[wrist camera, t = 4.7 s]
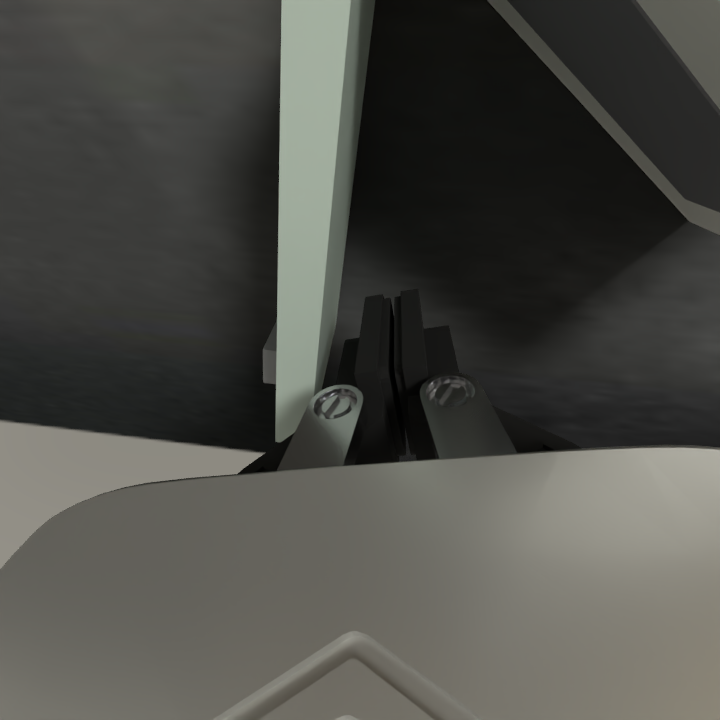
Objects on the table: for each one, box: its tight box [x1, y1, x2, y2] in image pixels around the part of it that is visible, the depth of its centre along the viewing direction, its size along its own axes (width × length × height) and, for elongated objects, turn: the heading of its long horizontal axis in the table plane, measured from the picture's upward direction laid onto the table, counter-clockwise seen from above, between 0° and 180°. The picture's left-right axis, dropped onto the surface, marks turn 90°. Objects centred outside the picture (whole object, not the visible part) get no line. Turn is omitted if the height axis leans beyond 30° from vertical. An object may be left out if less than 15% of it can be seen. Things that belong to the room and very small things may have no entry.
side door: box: [263, 0, 375, 442], centre depth 10 cm, size 13×2×7 cm, turn 172°
